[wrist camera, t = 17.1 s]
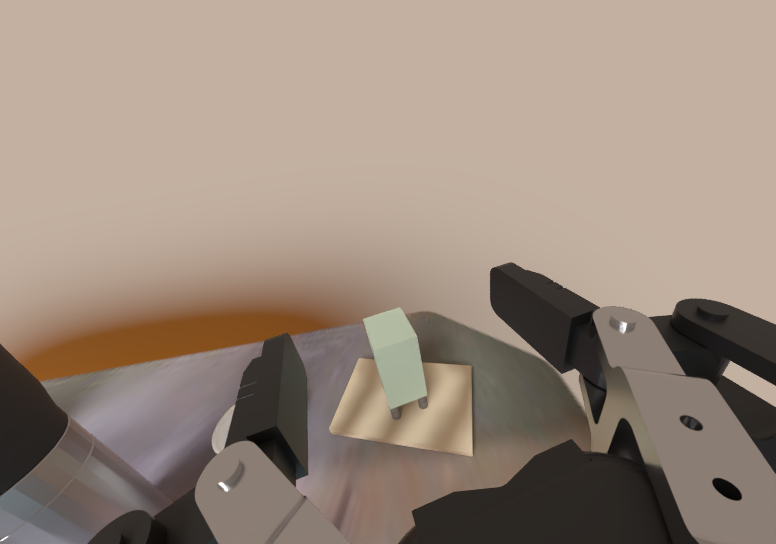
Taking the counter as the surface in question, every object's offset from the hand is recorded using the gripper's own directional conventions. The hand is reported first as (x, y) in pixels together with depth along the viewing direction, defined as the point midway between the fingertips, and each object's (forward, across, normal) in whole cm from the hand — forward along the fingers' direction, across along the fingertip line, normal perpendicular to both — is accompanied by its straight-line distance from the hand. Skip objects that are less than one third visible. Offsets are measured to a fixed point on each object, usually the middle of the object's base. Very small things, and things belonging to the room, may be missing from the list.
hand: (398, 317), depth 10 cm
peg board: (+17, -2, +28) cm, 33 cm away
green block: (+17, -2, +24) cm, 30 cm away
